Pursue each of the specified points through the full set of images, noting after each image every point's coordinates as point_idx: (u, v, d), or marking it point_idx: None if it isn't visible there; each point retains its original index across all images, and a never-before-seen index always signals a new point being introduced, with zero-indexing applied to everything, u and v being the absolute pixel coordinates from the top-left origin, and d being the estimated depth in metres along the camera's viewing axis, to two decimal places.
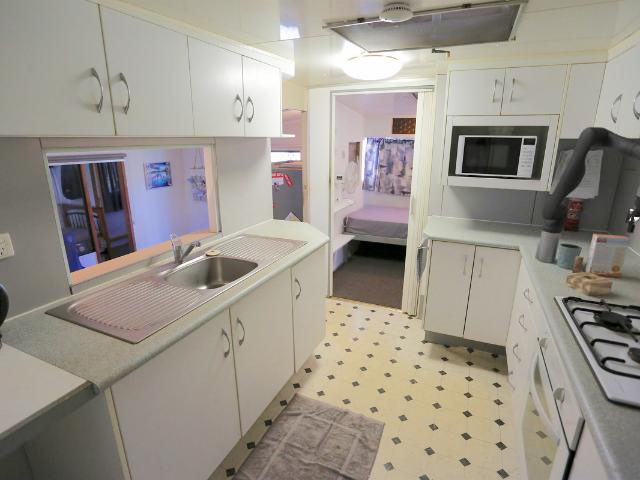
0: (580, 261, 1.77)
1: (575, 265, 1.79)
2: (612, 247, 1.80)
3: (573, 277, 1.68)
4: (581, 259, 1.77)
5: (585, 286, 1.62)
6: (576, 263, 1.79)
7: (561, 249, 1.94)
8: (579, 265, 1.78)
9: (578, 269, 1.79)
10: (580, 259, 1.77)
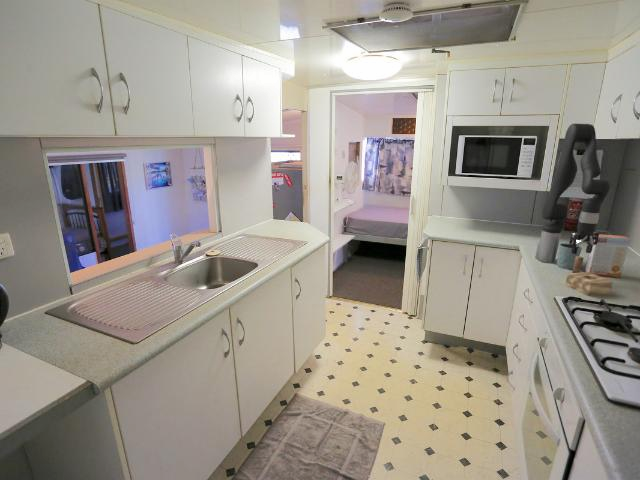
0: (580, 261, 1.77)
1: (575, 265, 1.79)
2: (612, 247, 1.80)
3: (573, 277, 1.68)
4: (581, 259, 1.77)
5: (585, 286, 1.62)
6: (576, 263, 1.79)
7: (561, 249, 1.94)
8: (579, 265, 1.78)
9: (578, 269, 1.79)
10: (580, 259, 1.77)
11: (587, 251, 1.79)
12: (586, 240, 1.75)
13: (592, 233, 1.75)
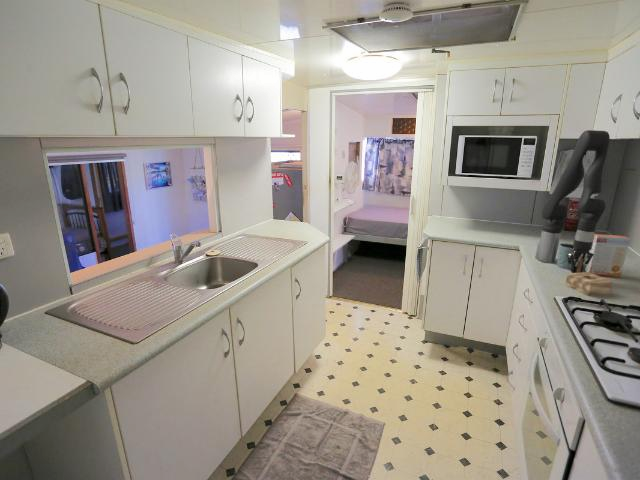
0: (580, 261, 1.77)
1: None
2: (612, 247, 1.80)
3: (573, 277, 1.68)
4: (581, 259, 1.77)
5: (585, 286, 1.62)
6: None
7: (561, 249, 1.94)
8: (579, 265, 1.78)
9: (578, 269, 1.79)
10: None
11: None
12: None
13: (588, 251, 1.77)
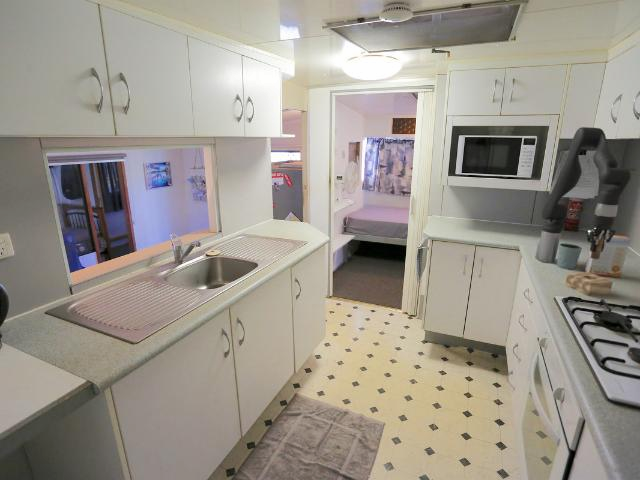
0: (601, 239, 1.60)
1: None
2: (612, 247, 1.80)
3: (573, 277, 1.68)
4: (602, 236, 1.59)
5: (585, 286, 1.62)
6: None
7: (561, 249, 1.94)
8: (600, 243, 1.60)
9: (599, 248, 1.61)
10: None
11: None
12: None
13: (610, 227, 1.59)
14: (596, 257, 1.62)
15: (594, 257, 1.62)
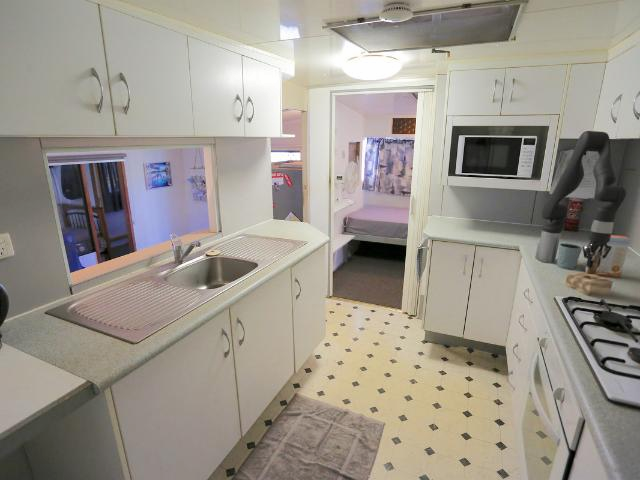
0: (597, 255, 1.62)
1: None
2: (612, 247, 1.80)
3: (573, 277, 1.68)
4: (598, 252, 1.61)
5: (585, 286, 1.62)
6: None
7: (561, 249, 1.94)
8: (596, 259, 1.62)
9: (595, 263, 1.63)
10: None
11: None
12: None
13: (606, 243, 1.61)
14: (592, 272, 1.64)
15: (590, 272, 1.64)
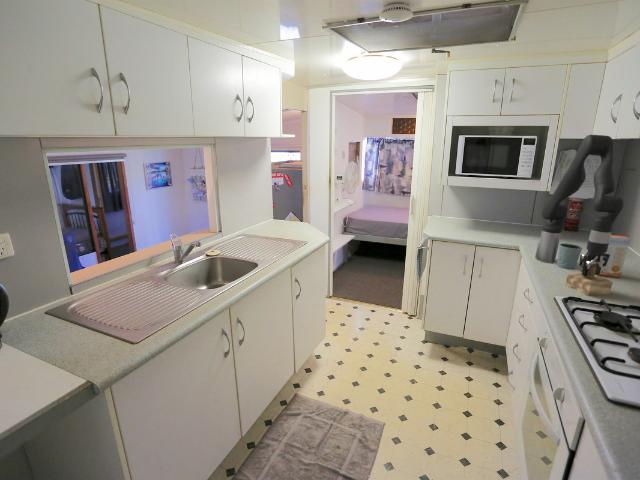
0: (593, 268, 1.63)
1: (588, 272, 1.65)
2: (612, 247, 1.80)
3: (573, 277, 1.68)
4: (594, 266, 1.63)
5: (585, 286, 1.62)
6: (589, 270, 1.65)
7: (561, 249, 1.94)
8: (592, 272, 1.64)
9: (591, 277, 1.65)
10: (593, 266, 1.63)
11: (595, 273, 1.67)
12: (596, 260, 1.63)
13: (603, 253, 1.63)
14: None
15: None
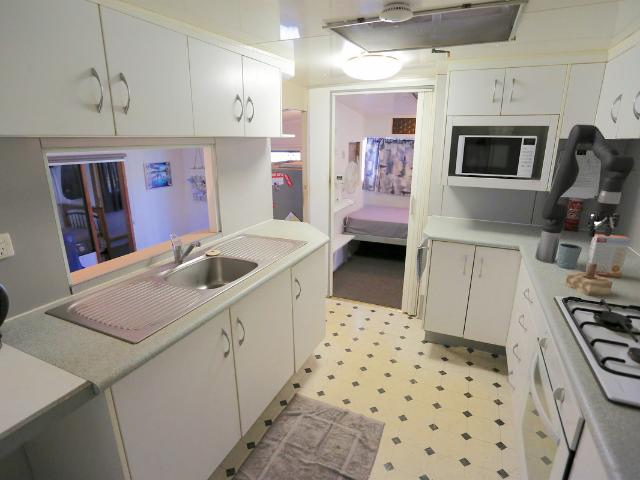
0: (593, 268, 1.63)
1: (588, 272, 1.65)
2: (612, 247, 1.80)
3: (573, 277, 1.68)
4: (594, 266, 1.63)
5: (585, 286, 1.62)
6: (589, 270, 1.64)
7: (561, 249, 1.94)
8: (592, 272, 1.64)
9: (591, 277, 1.64)
10: (593, 266, 1.63)
11: (606, 234, 1.65)
12: (605, 222, 1.61)
13: (612, 214, 1.61)
14: None
15: None
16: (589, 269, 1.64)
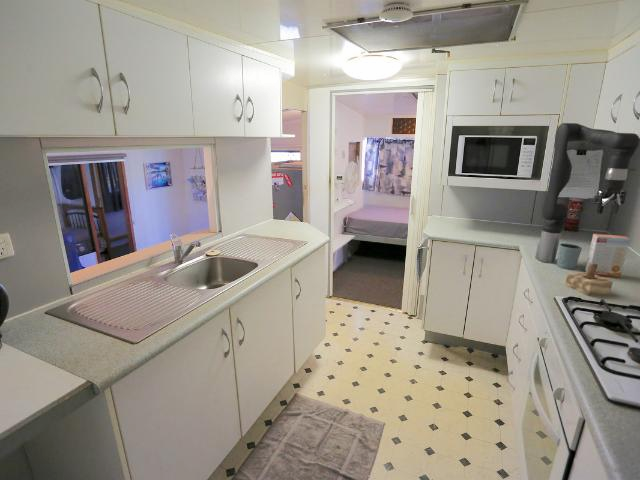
0: (594, 268, 1.63)
1: (588, 272, 1.65)
2: (612, 247, 1.80)
3: (573, 277, 1.68)
4: (595, 266, 1.63)
5: (585, 286, 1.62)
6: (589, 270, 1.65)
7: (561, 249, 1.94)
8: (592, 272, 1.64)
9: (591, 276, 1.65)
10: (594, 266, 1.63)
11: (613, 211, 1.70)
12: (613, 199, 1.67)
13: (619, 191, 1.66)
14: None
15: None
16: (589, 269, 1.65)
